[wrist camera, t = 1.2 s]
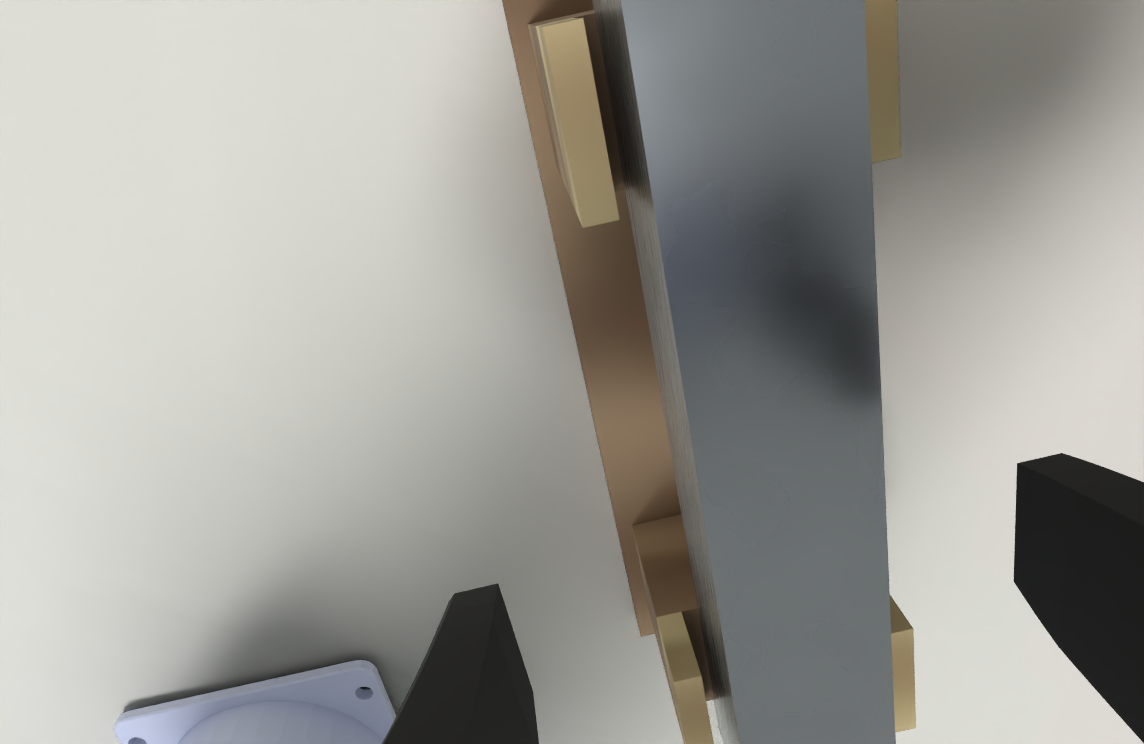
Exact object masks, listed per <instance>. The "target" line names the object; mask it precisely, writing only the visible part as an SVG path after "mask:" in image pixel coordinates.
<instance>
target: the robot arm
mask: <svg viewBox="0 0 1144 744" xmlns="http://www.w3.org/2000/svg"><path fill="white" fill-rule="evenodd" d="M1014 583H1015V584H1016V586H1017V587H1018V589H1019V590H1020V592H1021V593H1022V595H1023V596H1024V598H1025V599H1026V601H1027V602H1028V604H1029V605H1030V607H1031V608H1032V610H1033V611H1034V613H1035V614H1036V616H1037V617H1038V619H1039V620H1040V621H1041V623H1042V624H1043V626H1044V627H1045V628H1046V630H1047V631H1048V633H1049V634H1050V635H1051V637H1052V638H1053V640H1054V641H1055V642H1056V644H1057V645H1058V647H1059V648H1060V649H1061V650H1062V651H1063V652H1064V654H1065V655H1066V656H1067V657H1068V658H1069V659H1070V661H1071V662H1072V663H1073V664H1074V665H1075V666H1076V668H1077V669H1078V670H1079V671H1080V672H1081V673H1082V674H1083V675H1084V677H1085V678H1086V679H1087V680H1088V681H1089V682H1090V683H1091V685H1092V686H1093V687H1094V688H1095V689H1096V690H1097V691H1098V692H1099V694H1100V695H1101V696H1102V697H1103V698H1104V699H1105V700H1106V702H1107V703H1108V704H1109V705H1110V706H1111V707H1112V708H1113V709H1114V710H1115V712H1116V713H1117V714H1118V715H1119V716H1120V717H1121V718H1122V719H1123V720H1124V722H1125V723H1126V724H1127V725H1128V726H1129V727H1130V728H1131V729H1132V731H1133V732H1134V733H1135V734H1136V735H1137V736H1138V737H1139V738H1140V739H1141V741H1142V742H1143V743H1144V482H1141V481H1139V480H1136V479H1134V478H1131V477H1128V476H1126V475H1123V474H1120V473H1118V472H1115V471H1112V470H1110V469H1107V468H1104V467H1101V466H1099V465H1096V464H1093V463H1090V462H1087V461H1084V460H1082V459H1079V458H1075V457H1072V456H1069V455H1066V454H1063V453H1060V454H1056V455H1052V456H1047V457H1043V458H1039V459H1034V460H1030V461H1026V462H1021V463H1017V490H1016V524H1015V558H1014ZM360 687H368V688H371V689H369V690H364V689H361V688H360ZM113 731H114V734H115V736H116V737H117V739H118V741H119V742H120V744H539V741H538V731H537V722H536V714H535V705H534V696H533V690H532V687H531V684H530V681H529V678H528V675H527V672H526V669H525V666H524V662H523V659H522V656H521V653H520V650H519V647H518V644H517V641H516V638H515V634H514V631H513V628H512V625H511V622H510V619H509V616H508V613H507V610H506V606H505V603H504V600H503V597H502V594H501V591H500V588H499V585H498V584H494V585H490V586H485V587H481V588H477V589H472V590H468V591H464V592H459V593H455V594H454V595H453V597H452V598H451V600H450V601H449V603H448V605H447V608H446V610H445V612H444V615H443V617H442V620H441V622H440V624H439V627H438V629H437V631H436V634H435V636H434V638H433V641H432V643H431V645H430V647H429V650H428V652H427V654H426V656H425V658H424V660H423V663H422V665H421V667H420V669H419V671H418V673H417V676H416V678H415V680H414V682H413V684H412V686H411V688H410V690H409V692H408V694H407V696H406V698H405V700H404V702H403V704H402V706H401V708H400V710H399V712H398V714H397V716H396V714H395V712H394V709H393V707H392V704H391V702H390V699H389V697H388V695H387V692H386V690H385V687H384V685H383V682H382V680H381V678H380V675H379V673H378V670H377V668H376V667H375V665H374V664H372V663H371V662H369V661H365V660H354V661H350V662H346V663H341V664H337V665H332V666H328V667H323V668H319V669H314V670H310V671H305V672H301V673H296V674H292V675H287V676H283V677H278V678H274V679H269V680H265V681H260V682H256V683H251V684H247V685H242V686H238V687H233V688H229V689H224V690H220V691H215V692H211V693H206V694H202V695H197V696H193V697H188V698H184V699H179V700H175V701H170V702H166V703H161V704H157V705H152V706H148V707H144V708H139V709H135V710H130V711H127V712H124V713H122V714H121V715H120V716H119V717H118V719H117V721H116V723H115V725H114V728H113ZM137 737H139V738H137ZM140 738H142V739H140Z"/></svg>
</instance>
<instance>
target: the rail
mask: <svg viewBox="0 0 1144 744" xmlns="http://www.w3.org/2000/svg"><path fill="white" fill-rule="evenodd" d="M592 2H593V8H594V14H595V19H596V25H597V31H598V37H599V42H600V48H601V54H602V60H603V65H604V71H605V77H606V83H607V88H608V94H609V100H610V106H611V111H612V117H613V123H614V129H615V134H616V140H617V146H618V152H619V157H620V163H621V169H622V175H623V180H624V186H625V192H626V198H627V203H628V209H629V215H630V221H631V226H632V232H633V238H634V244H635V249H636V255H637V261H638V267H639V272H640V278H641V284H642V290H643V295H644V301H645V307H646V313H647V318H648V324H649V330H650V336H651V341H652V347H653V353H654V359H655V364H656V370H657V376H658V382H659V387H660V393H661V399H662V405H663V410H664V416H665V422H666V428H667V433H668V439H669V445H670V451H671V456H672V462H673V468H674V474H675V479H676V485H677V491H678V497H679V503H680V508H681V514H682V520H683V526H684V531H685V537H686V543H687V549H688V554H689V560H690V566H691V572H692V577H693V583H694V589H695V595H696V600H697V606H698V612H699V618H700V623H701V629H702V635H703V641H704V646H705V652H706V658H707V664H708V669H709V675H710V681H711V687H712V692H713V698H714V704H715V710H716V715H717V721H718V727H719V730H720V733H721V737H722V740H723V743H724V744H896V739H895V715H894V691H893V667H892V643H891V619H890V595H889V571H888V547H887V523H886V500H885V476H884V452H883V428H882V404H881V380H880V356H879V332H878V308H877V284H876V260H875V236H874V212H873V188H872V164H871V140H870V116H869V93H868V69H867V45H866V21H865V0H592Z"/></svg>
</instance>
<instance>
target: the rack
mask: <svg viewBox="0 0 1144 744" xmlns="http://www.w3.org/2000/svg"><path fill="white" fill-rule="evenodd" d="M502 2H503V7H504V11H505V16H506V20H507V25H508V30H509V34H510V39H511V43H512V48H513V53H514V57H515V62H516V66H517V71H518V76H519V80H520V85H521V89H522V94H523V99H524V103H525V108H526V112H527V117H528V122H529V126H530V131H531V135H532V140H533V145H534V149H535V154H536V158H537V163H538V168H539V172H540V177H541V181H542V186H543V191H544V195H545V200H546V204H547V209H548V214H549V218H550V223H551V227H552V232H553V236H554V241H555V246H556V250H557V255H558V259H559V264H560V269H561V273H562V278H563V282H564V287H565V292H566V296H567V301H568V305H569V310H570V315H571V319H572V324H573V328H574V333H575V338H576V342H577V347H578V351H579V356H580V361H581V365H582V370H583V374H584V379H585V384H586V388H587V393H588V397H589V402H590V407H591V411H592V416H593V420H594V425H595V430H596V434H597V439H598V443H599V448H600V453H601V457H602V462H603V466H604V471H605V476H606V480H607V485H608V489H609V494H610V499H611V503H612V508H613V512H614V517H615V522H616V526H617V531H618V535H619V540H620V545H621V549H622V554H623V558H624V563H625V568H626V572H627V577H628V581H629V586H630V591H631V595H632V600H633V604H634V609H635V614H636V618H637V622H638V627H639V631H640V635H641V636H646V635H650V634H656V638H657V642H658V646H659V650H660V653H661V657H662V661H663V665H664V669H665V672H666V676H667V680H668V684H669V688H670V692H671V695H672V699H673V703H674V707H675V711H676V715H677V718H678V722H679V726H680V730H681V734H682V737H683V741H684V744H714V743H713V737H712V732H711V726H710V721H709V715H708V709H707V704H706V701H708V700H713V699H714V698H713V692H712V687H711V681H710V675H709V669H708V664H707V658H706V652H705V646H704V641H703V635H702V629H701V623H700V618H699V612H698V606H697V600H696V595H695V589H694V583H693V577H692V572H691V566H690V560H689V554H688V549H687V543H686V537H685V531H684V526H683V520H682V514H681V508H680V503H679V497H678V491H677V485H676V479H675V474H674V468H673V462H672V456H671V451H670V445H669V439H668V433H667V428H666V422H665V416H664V410H663V405H662V399H661V393H660V387H659V382H658V376H657V370H656V364H655V359H654V353H653V347H652V341H651V336H650V330H649V324H648V318H647V313H646V307H645V301H644V295H643V290H642V284H641V278H640V272H639V267H638V261H637V255H636V249H635V244H634V238H633V232H632V226H631V221H630V215H629V209H628V203H627V198H626V192H625V186H624V180H623V175H622V169H621V163H620V157H619V152H618V146H617V140H616V134H615V129H614V123H613V117H612V111H611V106H610V100H609V94H608V88H607V83H606V77H605V71H604V65H603V60H602V54H601V48H600V42H599V37H598V31H597V25H596V19H595V14H594V8H593V2H592V0H502ZM865 21H866V45H867V69H868V93H869V116H870V140H871V163H876V162H880V161H885V160H889V159H894V158H898V157H901V141H900V103H899V65H898V26H897V0H865ZM889 595H890V594H889ZM890 619H891V643H892V667H893V691H894V715H895V732H900V731H904V730H909V729H913V728H916V714H915V676H914V638H913V628H912V626H911V625H910V623H909V622H908V620H907V619H906V617H905V616H904V615H903V613H902V612H901V610H900V609H899V607H898V606H897V604H896V603H895V601H894V600H893V599H892V597H891V596H890Z"/></svg>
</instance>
